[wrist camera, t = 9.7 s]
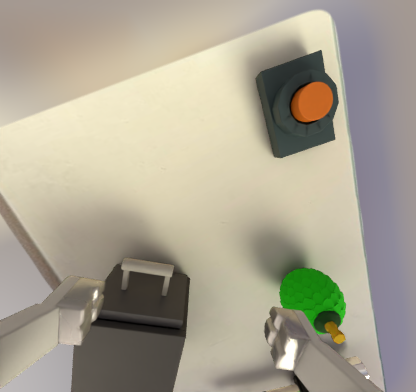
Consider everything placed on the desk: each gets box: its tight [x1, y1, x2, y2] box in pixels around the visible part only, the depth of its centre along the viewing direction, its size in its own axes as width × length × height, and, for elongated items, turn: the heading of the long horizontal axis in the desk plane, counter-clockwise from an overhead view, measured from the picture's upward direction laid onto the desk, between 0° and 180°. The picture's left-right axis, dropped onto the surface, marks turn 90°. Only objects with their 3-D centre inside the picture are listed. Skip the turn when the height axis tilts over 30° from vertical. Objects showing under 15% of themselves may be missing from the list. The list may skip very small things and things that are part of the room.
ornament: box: [279, 268, 346, 344], centre depth 26 cm, size 8×8×10 cm
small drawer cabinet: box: [71, 267, 190, 392], centre depth 26 cm, size 14×12×10 cm
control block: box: [256, 50, 339, 158], centre depth 23 cm, size 10×7×4 cm
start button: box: [291, 82, 333, 122], centre depth 20 cm, size 4×4×2 cm
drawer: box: [97, 258, 187, 329], centre depth 26 cm, size 17×10×8 cm, turn 168°
